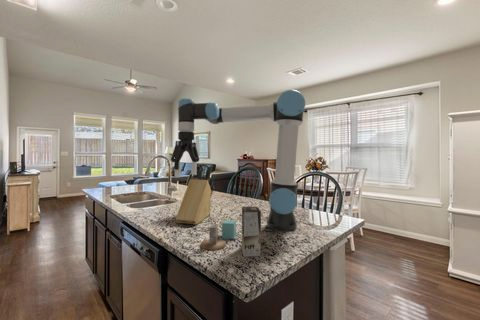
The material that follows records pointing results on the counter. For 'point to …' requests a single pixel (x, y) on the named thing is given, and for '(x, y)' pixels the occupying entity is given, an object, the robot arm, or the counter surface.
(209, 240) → the post
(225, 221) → the teal rectangular block
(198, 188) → the knife block
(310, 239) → the counter surface
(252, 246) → the coffee box
